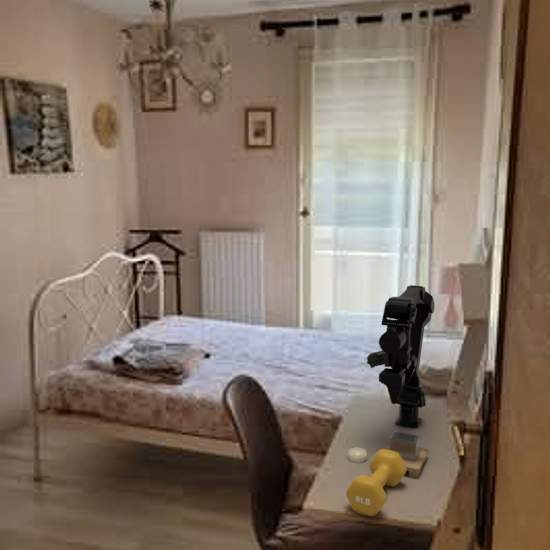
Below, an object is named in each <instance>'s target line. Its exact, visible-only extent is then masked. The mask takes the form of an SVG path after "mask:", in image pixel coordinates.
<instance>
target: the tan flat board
mask: <svg viewBox="0 0 550 550" xmlns="http://www.w3.org/2000/svg"><path fill="white" fill-rule="evenodd" d="M386 450H389V446H388V447H387V448H386ZM429 452H430V451H429V448H425V447H420V454H419V456H418V458H417V460H416V462H415V461H410V460H405V459H403V461H404V463H405V466H406V469H407V470H406V472H408V478H412V479H418V477H419V475H420V473H421V471H422V469H423V467H424V465H425V463H424V462H426V461H425V460H427V459H426V458H428V455H429Z"/></svg>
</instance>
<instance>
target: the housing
mask: <svg viewBox="0 0 550 550" xmlns="http://www.w3.org/2000/svg"><path fill="white" fill-rule="evenodd" d="M388 447H389V450H391V451H395V452H397V453H399V454H400V456H401V458H402V459H405V460H410V461H415V462H416V460H417V458H418V456H419V454H420V448H421V435H417V434H412V433H407V432H401V431H395V430H393V431H392V432H391V435H390V436H389V438H388Z"/></svg>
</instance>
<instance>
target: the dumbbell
mask: <svg viewBox="0 0 550 550" xmlns="http://www.w3.org/2000/svg"><path fill="white" fill-rule="evenodd" d="M369 470H370V472H371V475H370V476H368V475H357V476H355V478H354V480H353V481H351V483H350V484H349V485H348V487H347V489H346V492H345V496H346V498H347V500H348V502H349V504H350V506H351V508H352V510H353V511H354V512H355V513H358V514H361V515H364V516H367V517H374V516H376V515H377V514H378V513H379V512H380V510H381V509H382V507H383V506H384V505H385V503H386V502H387V494H386V492H385V489H384V487H385V486H388V487H396V486H397V485H398V484H399V483H400V482H401V480H402V479H403V478H404V476H405V474H406V473H407V469H406V466H405V463H404V461H403V459H402V458H401V456H400V454H399V453H397V452H395V451H391V450H387V448H381V449H378V451H377V452H376V453H375V454H374V456H373V457H372V459H371V461H370V462H369Z"/></svg>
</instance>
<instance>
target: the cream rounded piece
mask: <svg viewBox="0 0 550 550" xmlns="http://www.w3.org/2000/svg"><path fill="white" fill-rule="evenodd" d="M367 456H368V453H367V449H365V448H363V447H356V446H355V447H351V448H349V449H348V459H347V460H349V462H351V463H354V462H355V464H360V463H359V462H363V461H365V460H366V459H367ZM366 461H367V460H366ZM366 461H365V462H366ZM356 462H357V463H356ZM363 463H364V462H363Z"/></svg>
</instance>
